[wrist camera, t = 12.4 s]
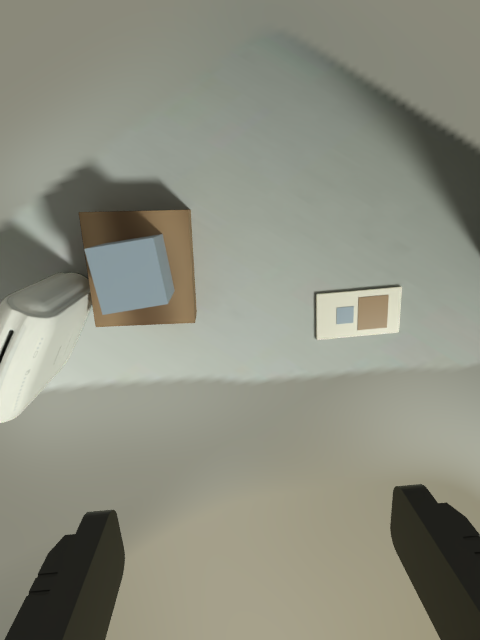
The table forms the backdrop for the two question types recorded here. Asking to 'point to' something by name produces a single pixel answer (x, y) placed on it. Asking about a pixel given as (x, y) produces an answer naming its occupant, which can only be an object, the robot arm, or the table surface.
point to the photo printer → (38, 336)
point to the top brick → (131, 274)
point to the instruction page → (358, 313)
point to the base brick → (179, 254)
